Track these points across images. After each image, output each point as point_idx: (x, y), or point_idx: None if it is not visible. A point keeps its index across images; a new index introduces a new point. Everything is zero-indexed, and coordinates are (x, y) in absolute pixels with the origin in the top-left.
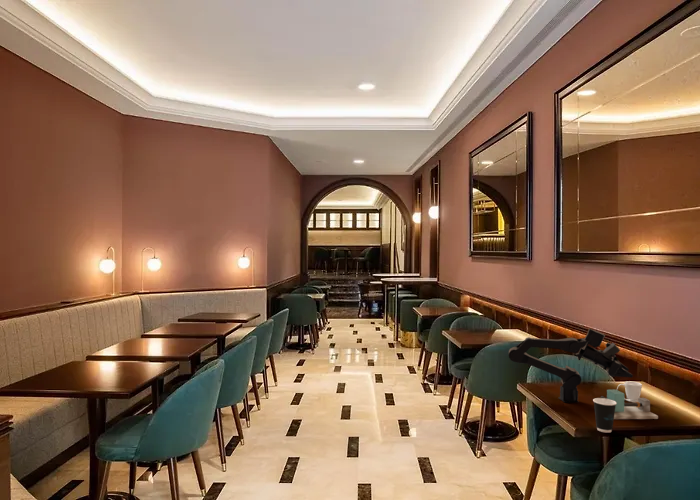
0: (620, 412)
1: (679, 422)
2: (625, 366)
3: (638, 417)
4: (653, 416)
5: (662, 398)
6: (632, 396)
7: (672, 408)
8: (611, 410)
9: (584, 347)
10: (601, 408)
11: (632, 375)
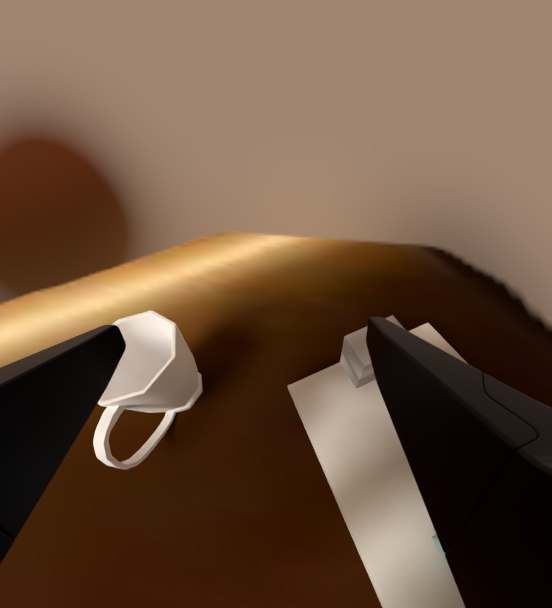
0: None
1: (416, 273)
2: (66, 345)
3: None
4: (441, 339)
5: (137, 287)
6: (193, 385)
7: (249, 274)
8: None
9: None
10: None
11: (384, 321)
